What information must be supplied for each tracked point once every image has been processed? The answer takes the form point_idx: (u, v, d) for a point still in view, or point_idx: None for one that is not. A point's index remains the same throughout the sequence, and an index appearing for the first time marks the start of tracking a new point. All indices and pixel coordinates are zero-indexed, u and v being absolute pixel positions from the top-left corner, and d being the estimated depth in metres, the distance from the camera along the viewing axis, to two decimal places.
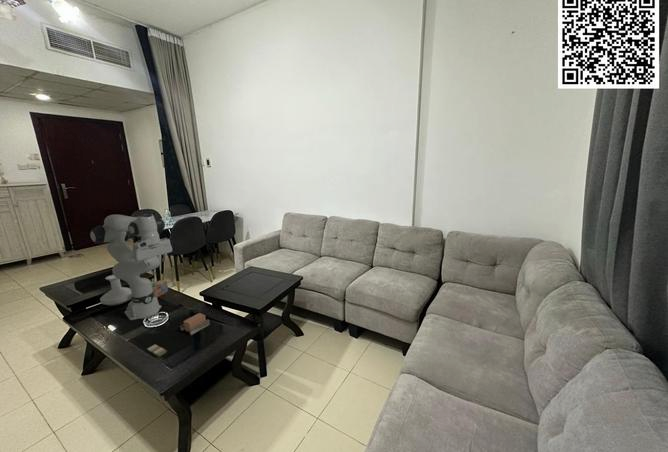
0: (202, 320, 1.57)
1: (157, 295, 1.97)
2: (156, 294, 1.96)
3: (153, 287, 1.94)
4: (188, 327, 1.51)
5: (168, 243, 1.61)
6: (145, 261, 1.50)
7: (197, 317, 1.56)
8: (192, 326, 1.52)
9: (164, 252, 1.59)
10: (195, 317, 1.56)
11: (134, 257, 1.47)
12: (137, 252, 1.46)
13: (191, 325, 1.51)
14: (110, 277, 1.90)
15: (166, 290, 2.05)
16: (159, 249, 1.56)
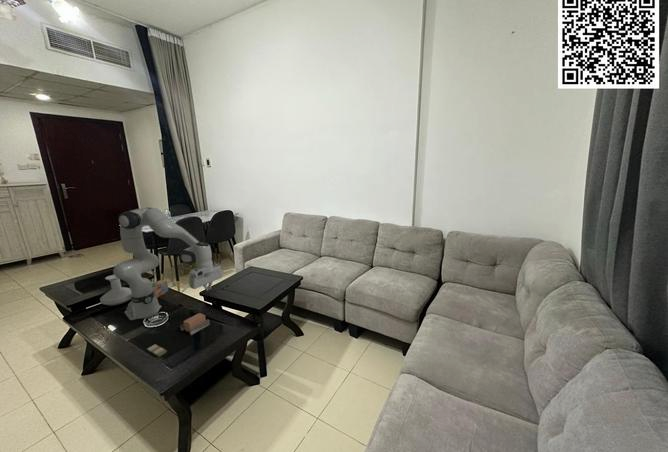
0: (202, 320, 1.57)
1: (157, 295, 1.98)
2: (156, 294, 1.97)
3: (153, 287, 1.94)
4: (188, 327, 1.51)
5: (219, 269, 1.66)
6: (206, 286, 1.59)
7: (197, 317, 1.56)
8: (192, 326, 1.52)
9: (216, 278, 1.64)
10: (195, 317, 1.56)
11: (191, 285, 1.52)
12: (194, 281, 1.51)
13: (191, 325, 1.51)
14: (110, 277, 1.90)
15: (166, 290, 2.06)
16: (212, 276, 1.61)
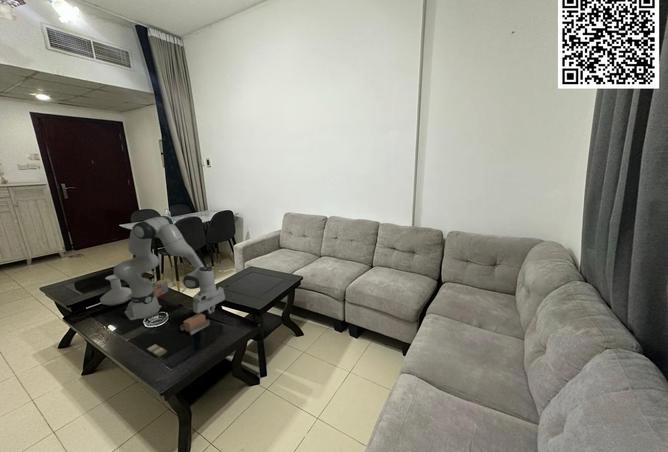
0: (202, 320, 1.57)
1: (157, 295, 1.98)
2: (156, 294, 1.97)
3: (153, 287, 1.94)
4: (188, 327, 1.51)
5: (222, 292, 1.69)
6: None
7: (197, 317, 1.56)
8: (192, 326, 1.52)
9: (218, 301, 1.67)
10: (195, 317, 1.56)
11: (194, 310, 1.55)
12: (198, 306, 1.54)
13: (191, 325, 1.51)
14: (110, 277, 1.90)
15: (166, 290, 2.06)
16: (215, 299, 1.65)
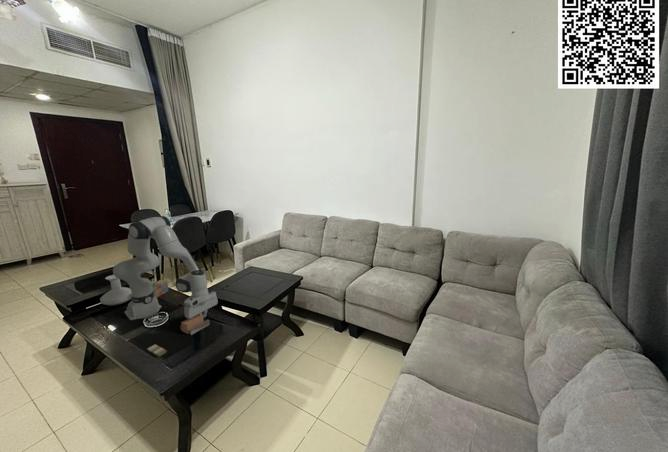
0: (200, 321, 1.56)
1: (158, 295, 1.98)
2: (157, 294, 1.97)
3: (154, 287, 1.94)
4: (186, 328, 1.50)
5: (215, 296, 1.65)
6: (201, 314, 1.58)
7: (195, 318, 1.55)
8: (190, 327, 1.50)
9: (211, 306, 1.63)
10: (193, 318, 1.55)
11: (186, 315, 1.51)
12: (189, 311, 1.50)
13: (189, 326, 1.50)
14: (110, 277, 1.90)
15: (166, 290, 2.06)
16: (207, 303, 1.60)
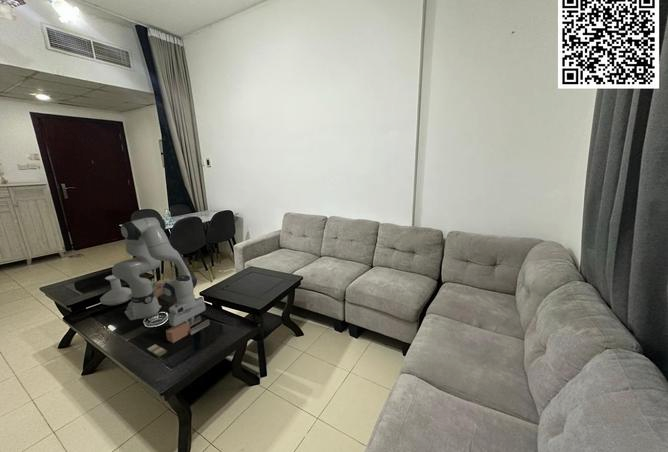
0: (186, 329, 1.48)
1: (158, 294, 1.98)
2: (157, 293, 1.97)
3: (154, 287, 1.95)
4: (170, 337, 1.42)
5: (202, 302, 1.57)
6: (187, 321, 1.51)
7: (180, 326, 1.47)
8: (175, 336, 1.43)
9: (198, 312, 1.55)
10: (179, 325, 1.48)
11: (170, 322, 1.43)
12: (174, 319, 1.42)
13: (174, 334, 1.43)
14: (110, 277, 1.89)
15: None
16: (194, 310, 1.53)
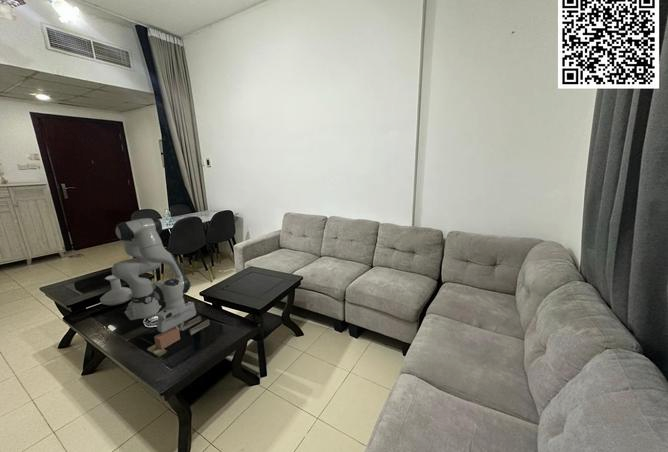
0: (175, 335, 1.43)
1: None
2: None
3: (154, 286, 1.95)
4: (159, 343, 1.37)
5: (192, 307, 1.52)
6: (177, 327, 1.45)
7: (170, 332, 1.42)
8: (163, 342, 1.38)
9: (188, 318, 1.50)
10: (168, 331, 1.42)
11: (158, 328, 1.38)
12: (162, 324, 1.37)
13: (163, 340, 1.37)
14: (110, 277, 1.90)
15: None
16: (184, 315, 1.48)
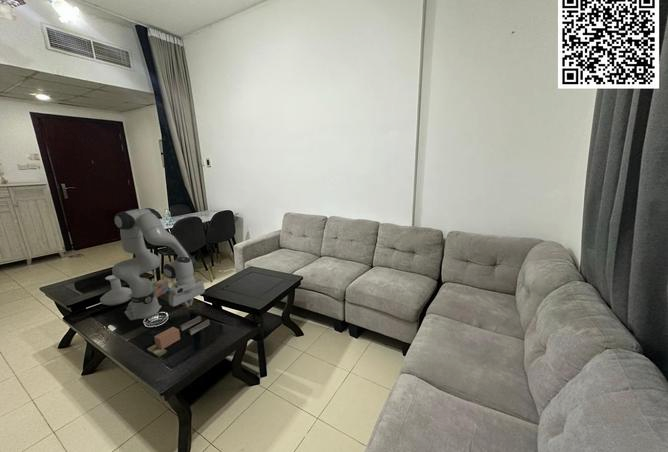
0: (175, 335, 1.43)
1: (158, 294, 1.99)
2: (157, 293, 1.98)
3: (154, 286, 1.95)
4: (159, 343, 1.37)
5: (202, 285, 1.60)
6: (186, 302, 1.53)
7: (170, 332, 1.42)
8: (163, 342, 1.38)
9: (197, 294, 1.58)
10: (168, 331, 1.43)
11: (170, 302, 1.46)
12: (174, 299, 1.45)
13: (163, 340, 1.37)
14: (110, 277, 1.90)
15: (167, 289, 2.07)
16: (193, 292, 1.56)
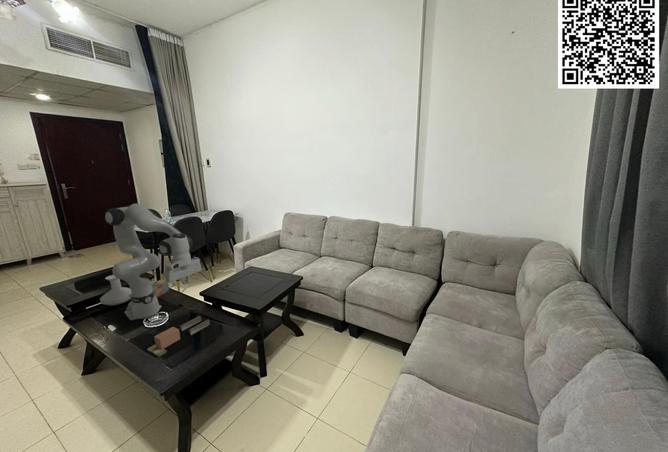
0: (175, 335, 1.43)
1: (158, 294, 1.99)
2: (157, 293, 1.98)
3: (154, 286, 1.95)
4: (159, 343, 1.37)
5: (198, 263, 1.60)
6: None
7: (170, 332, 1.42)
8: (163, 342, 1.38)
9: (194, 272, 1.58)
10: (168, 331, 1.43)
11: (166, 278, 1.46)
12: (170, 274, 1.45)
13: (163, 340, 1.37)
14: (110, 277, 1.89)
15: (167, 289, 2.07)
16: (190, 269, 1.56)
